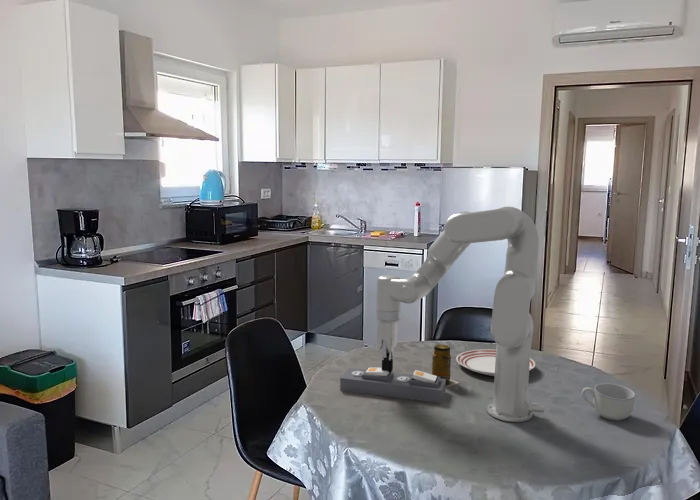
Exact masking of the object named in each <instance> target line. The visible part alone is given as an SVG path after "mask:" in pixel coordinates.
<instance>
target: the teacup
mask: <svg viewBox="0 0 700 500" xmlns="http://www.w3.org/2000/svg"><path fill="white" fill-rule="evenodd" d="M587 392H590V393H591V394H592V398H593V400H591V399H589V398H588V397H587V396H586V393H587ZM581 397H582V399H583V400H584V401H585V402H586V403H587V404H589V405H590V407H592V408H593V409H595V411H596V412H597V413H598V414H599V415H600V416H601V417H603V418H604V419H607V420H610V421H622V420H625V419H627V418H629V417H630V416H631V415H632V413H633V409H634V405H635V397H636V393H635V391H633V389H630V388H629V387H627V386H624V385H620V384H618V383H617V384H616V383H612V382H611V383H609V382H601V383H598V384H596V385H595V386H594V388H592V387H588V386H587V387H586V386H585V387H584V388H582V390H581Z"/></svg>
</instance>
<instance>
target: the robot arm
mask: <svg viewBox="0 0 700 500" xmlns="http://www.w3.org/2000/svg"><path fill="white" fill-rule="evenodd" d="M443 229H444V230H442V231H441V233H440V234H439V235H438V236H437V237H436V239H435V240H434V242H432V244H431V245H430V246H429V247H428V253H427V257H426V259H425V260H424V262H423V263H422V264H421V265H420V267H419V268H418V269H417V270H416V271H415V273H414V274H413V275H412V276H409V277H407V278H403V279H401V278H400V277H399V276H398V275H393V274H384V275H380V276H379V277H377V280H376V315H375V319H376V321H378V322H377V328H376V343H375V351H376V353H379V352H380V351H381V368H382V371H388V372H392V371H393V369H394V368H393V367H394V358H393V357H394V349H395V348H396V346H397V345H398V344H397V343H398V322H399V321H401V305H402V303H403V304H408V305H409V304H414V303H417V302H418V301H420V300H421V299H423V298H425V297H426V296H427V295H428V294H429V293H430V292H431V291H432V290H433V289H434V288H435V287H436V286H437V284H438V283H439V282H440V281H441V280H442V278H443V277H444V276H445V275H446V273H448V271H449V270H450V269H451V267H452V266H453V265H454V263H455V262H456V261H457V260H458V259H459V258H460V257H461V255H462V254H463V253H464V252H465V251H466V249H467V248H468V247H469V246H470V245H471V244H475V243H487V242H488V243H489V242H496V241H503V240H507V249H506V253H505V254H506V255H505V265H504V272H503V276H502V277H501V278H500V279H499V280H498V282H497V283H496V287H495V290H494V294H493V295H494V296H493V303H492V315H491V323H490V324H491V325H490V332H491V336H492V338H493V340H494V341H495V343H496V347H495V348H496V349H495V350H496V360H495V376H494V379H493V381H494V382H493V396H492V397H493V400H492V402H491V403H489V404H488V405H487V412H488V414H489V415H490V416H492V417H493V418H496V419H497V420H501V421H504V422H511V423H520V422H526V421H529V420H531V419H532V417H533V413H534V412H535V413H540V414H544V413H545V412H544V409H545V406H544V405H540V402H539V403H538V402H531V401H529V400H530V398H529V396H528V395H529V381H530V380H529V379H530V371H529V368H530V358H531V355H532V354H531V353H532V352H531V350H532V342H533V335H534V320H533V317H532V314H531V313H530V308H531V307H530V306H531V300H532V298H533V297H534V295H535V293H536V284H537V283H536V281H537V280H536V279H537V271H538V270H537V269H538V259H539V258H538V257H539V245H540V240H539V237H540V236H539V231H538V229H537V226H536V224H535V223H534V221H533V219H532V218H531V217H530V216H529V215H528V214H527V213H525V212H524V211H522V210H521V209H520V208H517V207H514V206H503V207H499V208H495V209H488V210H481V211H471V212H470V211H460V212H457V213H456V212H455V213H454V214H452V215H451V216H449V217H448V218H447V220H446V221H445V224H444V227H443Z"/></svg>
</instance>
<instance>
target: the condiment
mask: <svg viewBox="0 0 700 500" xmlns="http://www.w3.org/2000/svg"><path fill="white" fill-rule="evenodd" d="M451 360H452V355H451V347H450V346H449V345H447V344H443V343H442V344H435V345H434V347H433V354H432V363H431V374H432V375H435V376H437V377H440V378H441V379H446V388H448V387H451V386H455V385H457V384H459V383H460V382H459V381H456V380H453V379H451V362H452V361H451Z"/></svg>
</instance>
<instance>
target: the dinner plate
mask: <svg viewBox="0 0 700 500" xmlns="http://www.w3.org/2000/svg"><path fill="white" fill-rule="evenodd" d="M495 360H496V349H490V348H489V349H487V348H486V349H485V348H484V349H472V350H467V351H463V352H461V353H458V355H457V356H456V358H455V361H456V363H458V364H459V365H461V366H462V367H464V368H465V369H468V370H469V371H472V372H475V373H477V374H481V375H484V376H488V377H495ZM535 367H536V362H535V360H534V359H532V358H531V357H530V368H529V372H530V371H532V370H533V369H535Z"/></svg>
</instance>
